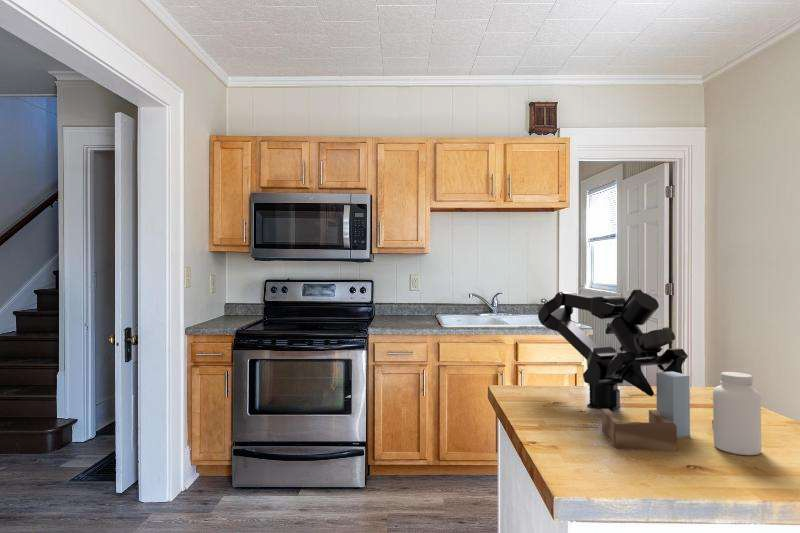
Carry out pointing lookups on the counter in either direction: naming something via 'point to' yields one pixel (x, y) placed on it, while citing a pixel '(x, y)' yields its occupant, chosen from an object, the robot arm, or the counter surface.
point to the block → (674, 399)
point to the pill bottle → (737, 415)
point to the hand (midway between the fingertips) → (669, 393)
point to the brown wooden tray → (640, 432)
